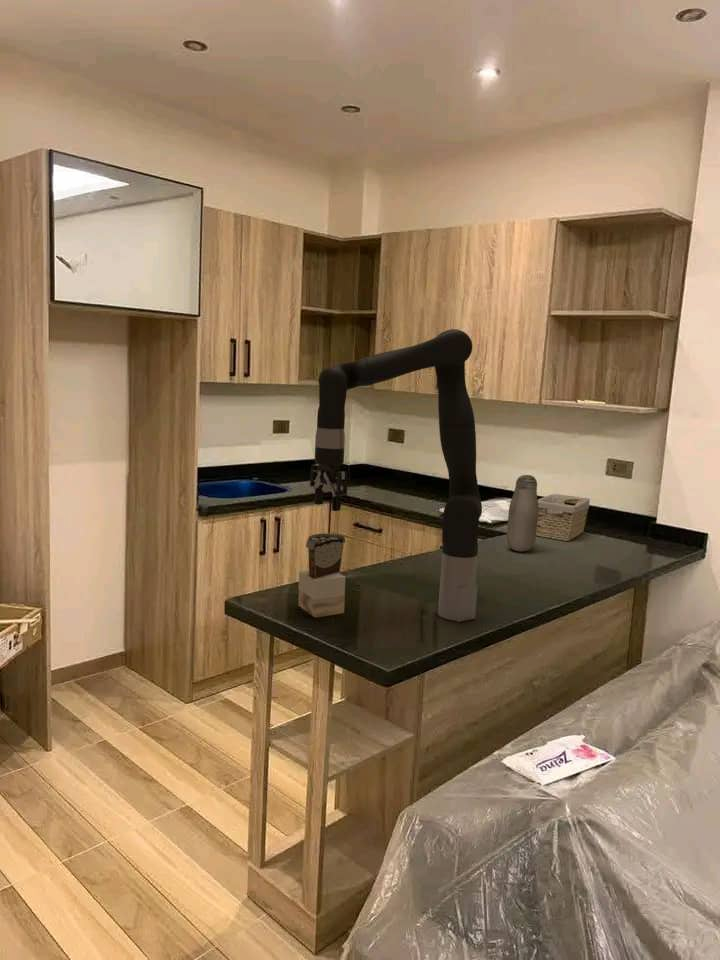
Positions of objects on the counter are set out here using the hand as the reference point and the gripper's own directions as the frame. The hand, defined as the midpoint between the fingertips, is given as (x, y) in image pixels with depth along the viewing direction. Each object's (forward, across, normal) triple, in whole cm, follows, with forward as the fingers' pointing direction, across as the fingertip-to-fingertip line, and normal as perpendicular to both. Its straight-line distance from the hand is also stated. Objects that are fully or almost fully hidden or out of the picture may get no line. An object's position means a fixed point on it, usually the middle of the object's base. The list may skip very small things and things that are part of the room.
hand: (327, 507), depth 190 cm
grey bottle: (+28, +22, -98) cm, 104 cm away
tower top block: (+23, +1, 0) cm, 23 cm away
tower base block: (+28, +1, 0) cm, 28 cm away
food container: (+18, +2, 0) cm, 19 cm away
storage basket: (+28, +34, -133) cm, 140 cm away
